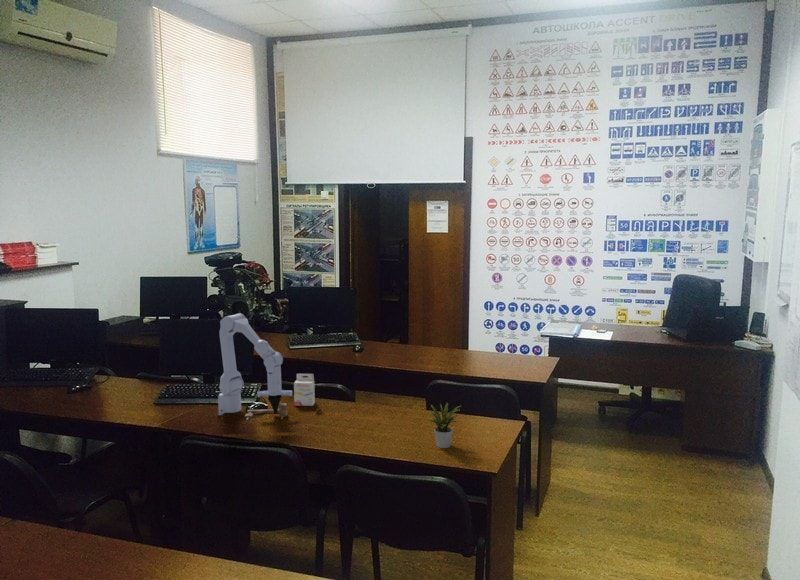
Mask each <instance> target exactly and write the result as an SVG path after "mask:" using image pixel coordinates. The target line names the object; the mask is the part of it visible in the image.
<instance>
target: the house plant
mask: <svg viewBox="0 0 800 580" xmlns="http://www.w3.org/2000/svg"><path fill="white" fill-rule="evenodd" d="M439 405H440V411H441V414H440V412H439V411H438V410H437V408H435V407H434V405H433V404H430V406H431V408H432V410H433V411H431V410H430V409H429V410H428V412H430V413H431V414H432V416H434V418H431V419H429V420H428V421H427V422H426V423H434V424H436V427H435V428H434V429H433V432H434V437H435V439H434V440H435V444H436V445H435V446H436V447H438V448H440V449H447V448H450V447H451V444H452V438H453V432H454V429H453V428H452V427H451V426H453V425H454V423H458V424H460V422H461V421H459V420H456V418H455V417H457V416H458V414H454V413H455V412H458V411H459V408H461V405H459V406H455V408H453V409H452V410H451V411H449V403H448V402H446V403H445V406H444V408H443V406H442V404H441V403H439ZM448 411H449V412H448ZM433 412H434V413H433ZM447 415H448V416H447ZM451 423H452V424H451ZM450 424H451V426H449V425H450Z"/></svg>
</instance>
